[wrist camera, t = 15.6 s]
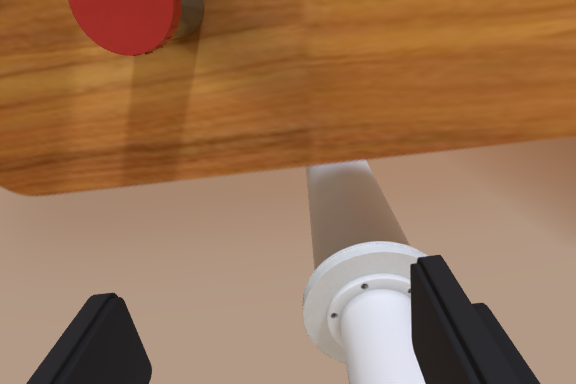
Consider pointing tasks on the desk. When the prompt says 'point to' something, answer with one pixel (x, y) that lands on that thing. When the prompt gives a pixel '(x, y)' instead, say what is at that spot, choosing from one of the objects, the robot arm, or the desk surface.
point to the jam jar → (189, 18)
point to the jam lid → (128, 23)
